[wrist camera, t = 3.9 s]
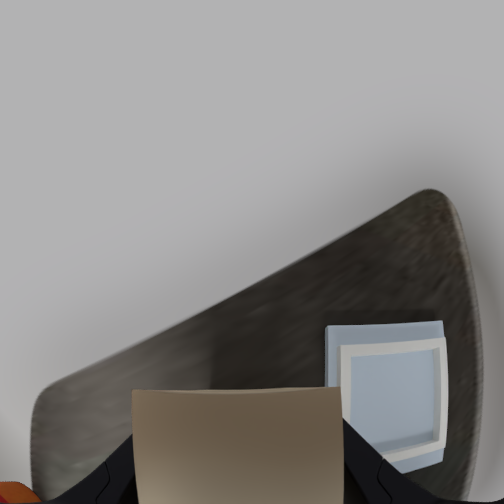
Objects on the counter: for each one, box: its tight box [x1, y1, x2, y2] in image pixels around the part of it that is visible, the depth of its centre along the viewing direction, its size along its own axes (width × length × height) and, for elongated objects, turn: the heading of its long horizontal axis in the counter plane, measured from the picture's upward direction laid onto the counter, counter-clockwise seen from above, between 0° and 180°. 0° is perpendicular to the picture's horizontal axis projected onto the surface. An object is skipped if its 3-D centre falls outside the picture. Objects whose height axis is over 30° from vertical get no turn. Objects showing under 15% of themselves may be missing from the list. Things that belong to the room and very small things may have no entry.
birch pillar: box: [132, 386, 344, 504], centre depth 9 cm, size 4×4×11 cm
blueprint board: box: [325, 321, 448, 473], centre depth 13 cm, size 10×8×2 cm
